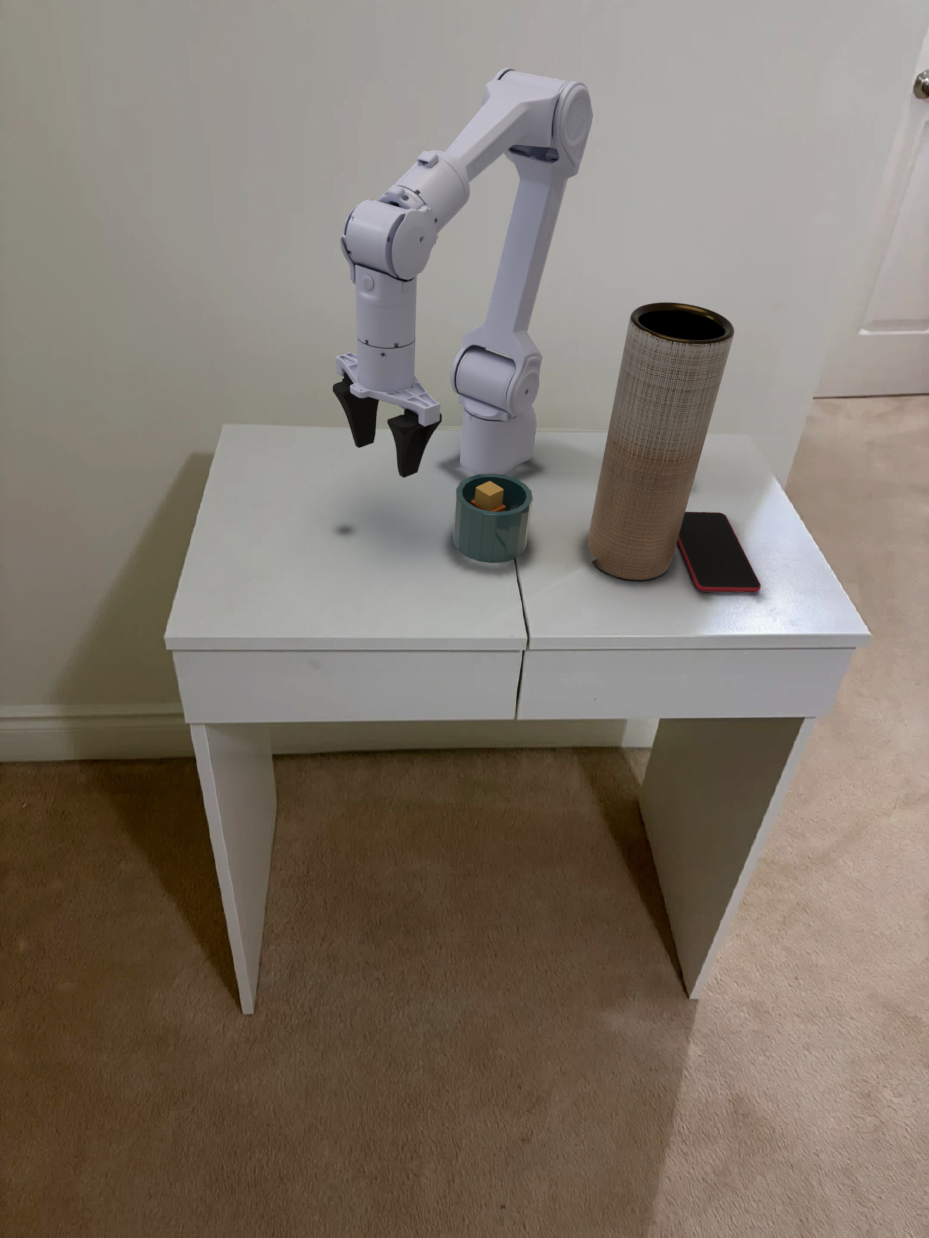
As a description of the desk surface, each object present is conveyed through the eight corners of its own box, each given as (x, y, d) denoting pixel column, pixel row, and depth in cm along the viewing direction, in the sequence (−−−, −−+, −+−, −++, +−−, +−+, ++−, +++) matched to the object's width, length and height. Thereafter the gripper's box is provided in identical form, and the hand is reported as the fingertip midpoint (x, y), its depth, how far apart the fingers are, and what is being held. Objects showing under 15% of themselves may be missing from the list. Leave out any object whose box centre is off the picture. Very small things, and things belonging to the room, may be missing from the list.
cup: (489, 519, 102) (495, 465, 98) (540, 552, 98) (548, 497, 93) (437, 544, 98) (440, 489, 93) (488, 580, 93) (493, 524, 89)
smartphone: (698, 588, 93) (667, 510, 104) (696, 594, 94) (665, 517, 105) (763, 588, 94) (725, 512, 105) (761, 595, 94) (723, 518, 106)
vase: (654, 529, 103) (711, 301, 85) (683, 579, 96) (752, 341, 78) (575, 533, 101) (617, 301, 83) (599, 584, 94) (650, 342, 76)
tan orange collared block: (467, 545, 97) (482, 537, 99) (486, 558, 96) (501, 550, 97) (471, 485, 92) (487, 478, 93) (492, 498, 90) (507, 490, 92)
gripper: (309, 321, 84) (316, 442, 93) (401, 373, 77) (399, 500, 86) (365, 306, 88) (367, 424, 97) (459, 355, 81) (451, 478, 89)
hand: (386, 458), depth 92 cm, fingers open, 7 cm apart
